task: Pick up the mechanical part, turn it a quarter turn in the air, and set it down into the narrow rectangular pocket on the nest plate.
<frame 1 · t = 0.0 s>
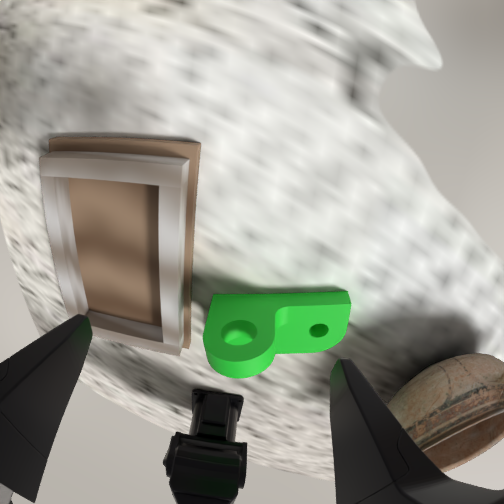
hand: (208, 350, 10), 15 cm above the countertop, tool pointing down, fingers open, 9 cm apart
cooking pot: (433, 375, 33), on the countertop
keyed nest: (122, 250, 26), on the countertop
mechanical part: (280, 315, 29), on the countertop
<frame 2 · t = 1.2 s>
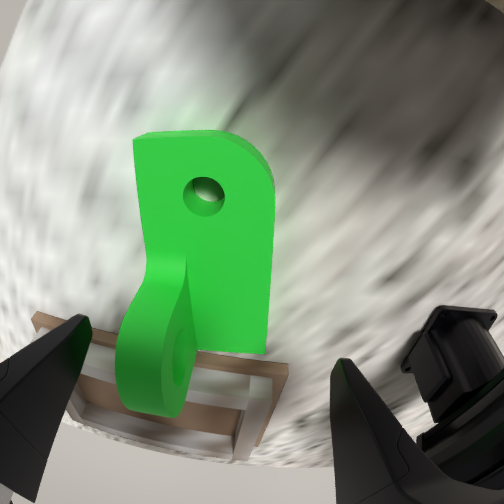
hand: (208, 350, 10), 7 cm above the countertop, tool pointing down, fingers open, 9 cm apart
keyed nest: (154, 390, 23), on the countertop
mechanical part: (214, 243, 16), on the countertop
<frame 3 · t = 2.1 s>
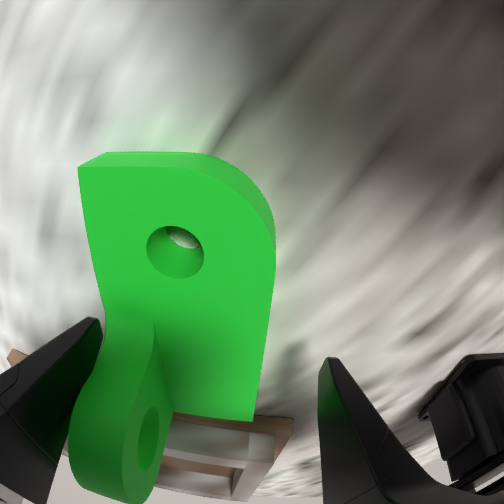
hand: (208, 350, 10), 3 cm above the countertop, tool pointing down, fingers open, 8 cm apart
keyed nest: (144, 433, 20), on the countertop
mechanical part: (193, 297, 12), on the countertop, touching gripper
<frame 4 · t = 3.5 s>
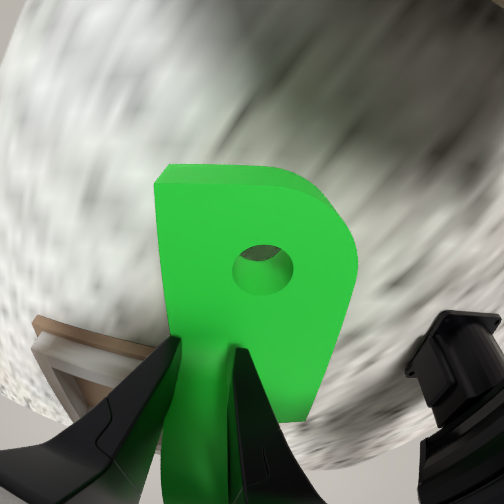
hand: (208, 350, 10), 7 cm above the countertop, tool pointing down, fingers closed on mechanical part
keyed nest: (156, 394, 23), on the countertop
mechanical part: (252, 309, 13), point 4 cm above the countertop, touching gripper
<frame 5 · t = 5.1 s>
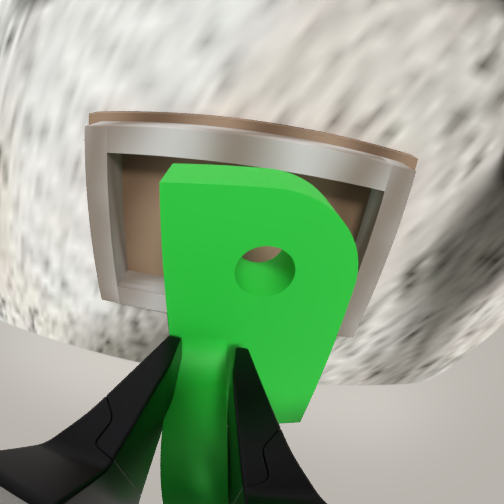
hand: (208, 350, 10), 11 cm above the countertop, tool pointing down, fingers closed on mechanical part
keyed nest: (238, 221, 20), on the countertop
mechanical part: (250, 310, 13), point 8 cm above the countertop, touching gripper
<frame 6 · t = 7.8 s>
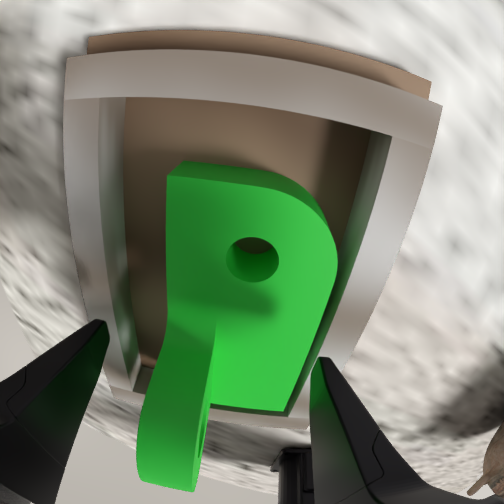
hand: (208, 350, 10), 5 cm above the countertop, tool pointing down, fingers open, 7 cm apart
keyed nest: (226, 268, 14), on the countertop
mechanical part: (244, 298, 14), point 1 cm above the countertop, touching keyed nest
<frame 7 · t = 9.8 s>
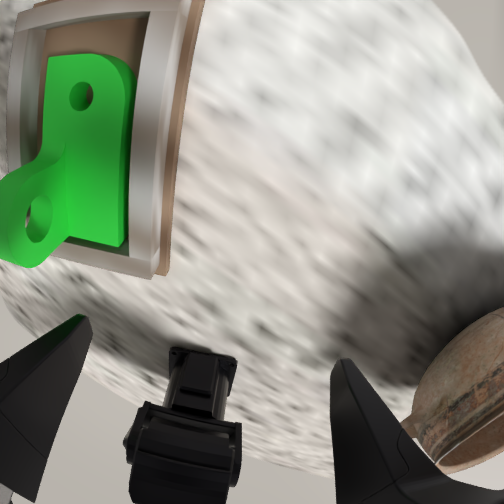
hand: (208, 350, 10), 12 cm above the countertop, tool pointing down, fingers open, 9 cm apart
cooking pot: (472, 339, 26), on the countertop
keyed nest: (92, 128, 17), on the countertop
mechanical part: (95, 143, 17), point 1 cm above the countertop, touching keyed nest
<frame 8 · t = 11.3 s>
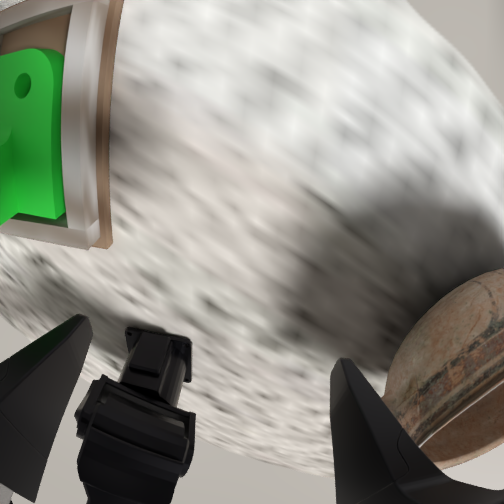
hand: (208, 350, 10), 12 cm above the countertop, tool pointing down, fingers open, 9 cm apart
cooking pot: (455, 318, 25), on the countertop
keyed nest: (40, 115, 17), on the countertop
mechanical part: (39, 127, 17), point 1 cm above the countertop, touching keyed nest
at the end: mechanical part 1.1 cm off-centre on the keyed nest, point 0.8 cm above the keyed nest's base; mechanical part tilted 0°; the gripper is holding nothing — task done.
